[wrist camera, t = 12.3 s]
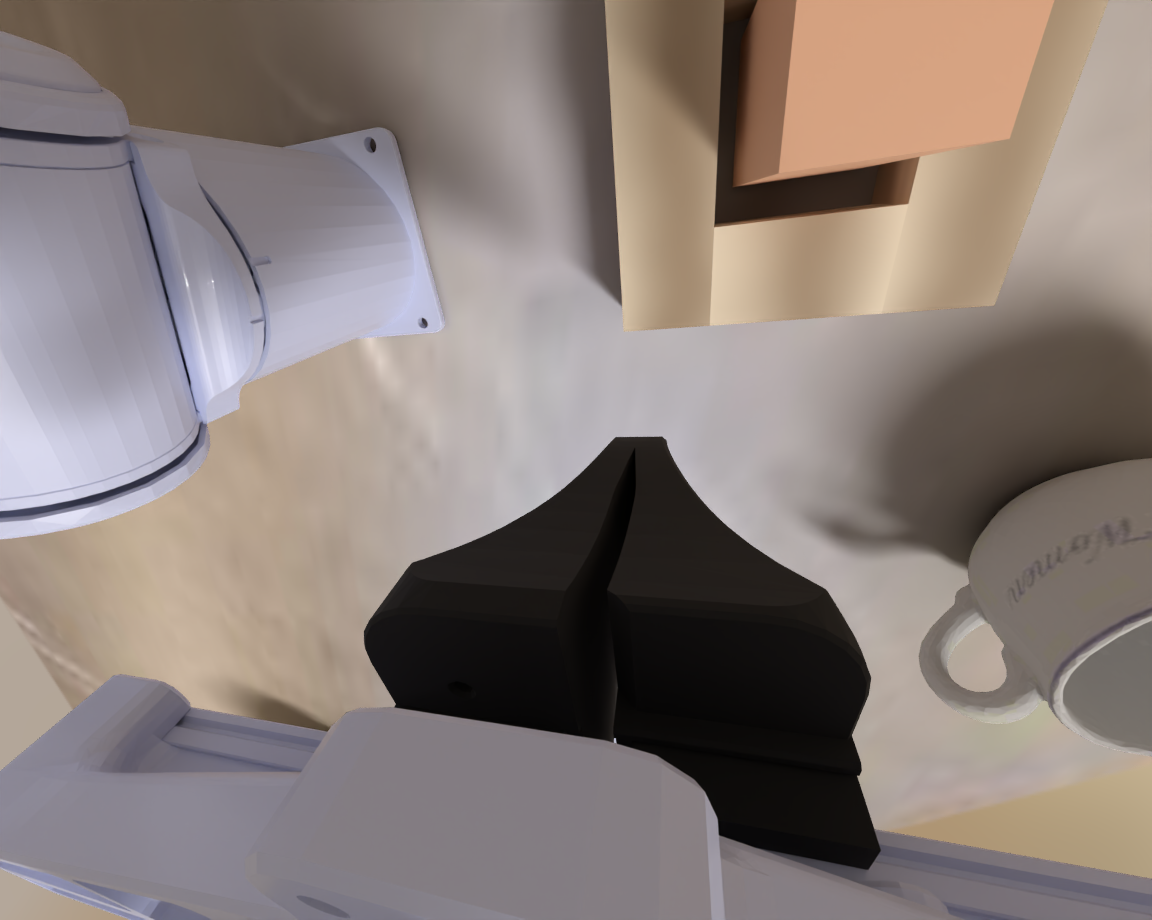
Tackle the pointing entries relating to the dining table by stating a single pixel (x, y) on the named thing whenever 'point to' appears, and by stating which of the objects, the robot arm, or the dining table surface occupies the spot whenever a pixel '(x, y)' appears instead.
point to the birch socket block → (805, 187)
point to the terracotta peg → (878, 81)
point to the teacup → (1063, 607)
